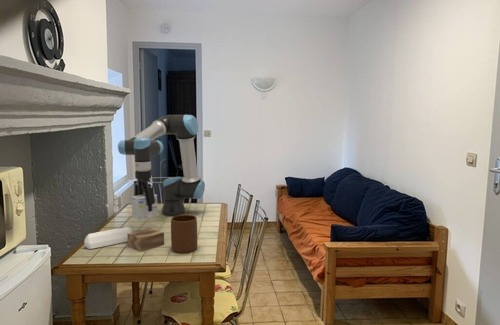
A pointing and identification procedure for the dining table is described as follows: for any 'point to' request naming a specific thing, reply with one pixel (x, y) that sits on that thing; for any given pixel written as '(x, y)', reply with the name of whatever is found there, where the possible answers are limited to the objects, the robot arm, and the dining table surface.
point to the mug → (184, 233)
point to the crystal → (107, 237)
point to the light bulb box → (142, 207)
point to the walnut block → (145, 239)
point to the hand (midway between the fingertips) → (144, 216)
